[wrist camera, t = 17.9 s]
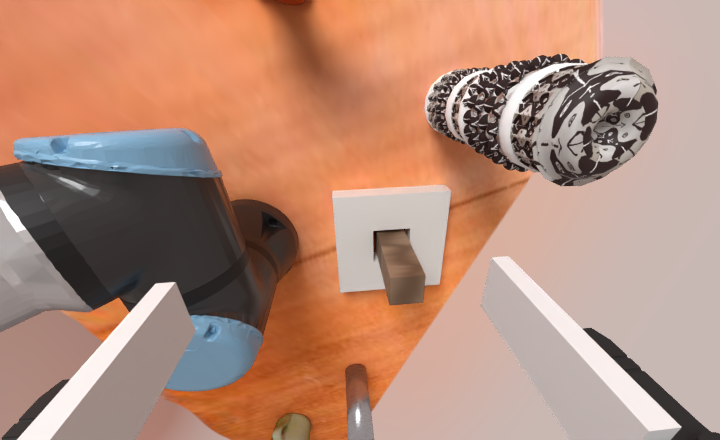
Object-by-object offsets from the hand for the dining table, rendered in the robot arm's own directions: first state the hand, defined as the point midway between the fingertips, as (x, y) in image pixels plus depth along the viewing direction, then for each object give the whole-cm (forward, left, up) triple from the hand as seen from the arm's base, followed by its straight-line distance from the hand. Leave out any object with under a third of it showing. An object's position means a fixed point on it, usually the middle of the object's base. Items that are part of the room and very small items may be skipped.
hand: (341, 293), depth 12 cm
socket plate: (+8, -16, -32) cm, 36 cm away
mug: (-16, -67, -32) cm, 76 cm away
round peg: (+1, -51, -32) cm, 60 cm away
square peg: (+8, -16, -32) cm, 36 cm away
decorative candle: (+17, +5, -32) cm, 36 cm away
